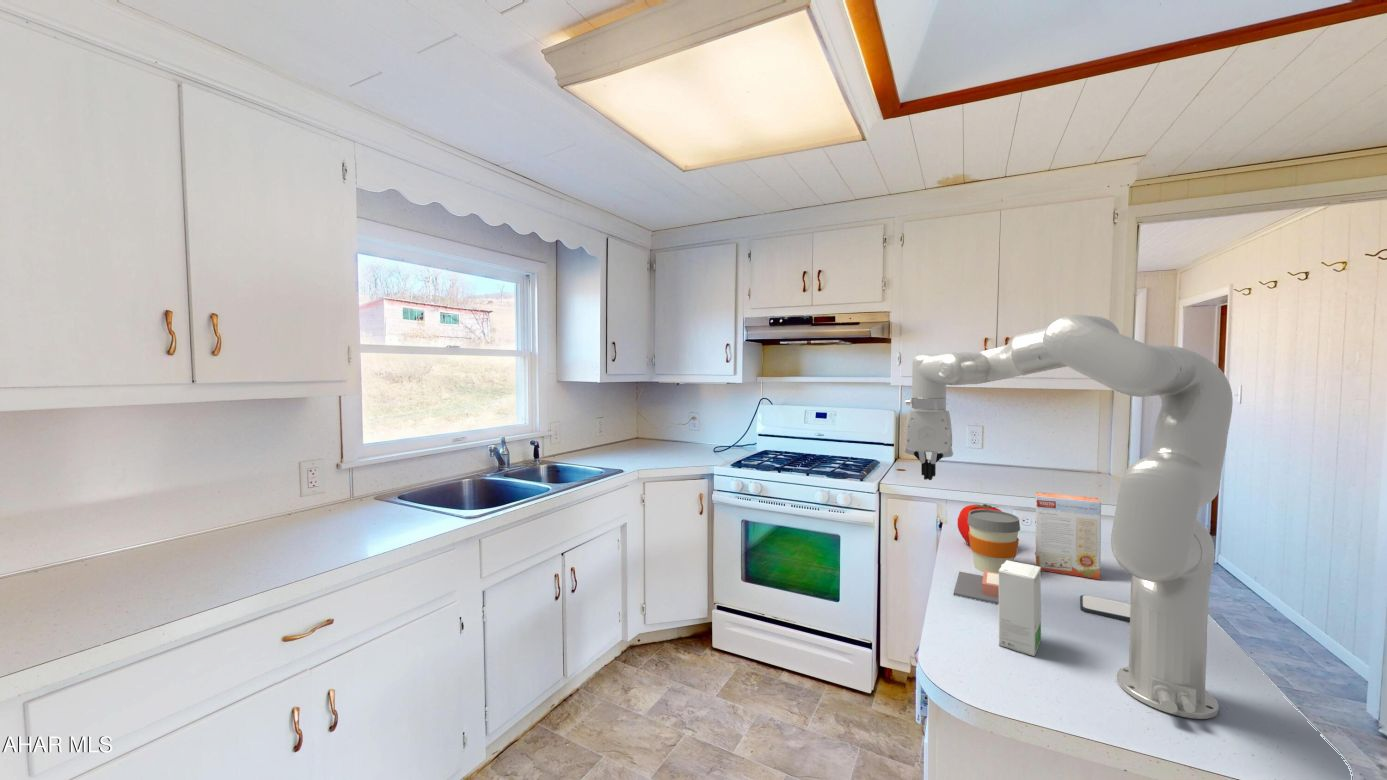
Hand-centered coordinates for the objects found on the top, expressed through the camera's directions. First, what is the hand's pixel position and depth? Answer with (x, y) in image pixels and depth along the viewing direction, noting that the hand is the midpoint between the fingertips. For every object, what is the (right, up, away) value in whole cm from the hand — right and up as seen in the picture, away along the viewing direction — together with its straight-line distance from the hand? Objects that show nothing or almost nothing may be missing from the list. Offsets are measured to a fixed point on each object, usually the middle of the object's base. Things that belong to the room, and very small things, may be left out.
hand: (928, 478), depth 122 cm
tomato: (+32, -27, +33) cm, 54 cm away
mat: (+17, -29, +3) cm, 33 cm away
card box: (+15, -27, +3) cm, 31 cm away
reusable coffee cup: (+26, -28, +16) cm, 41 cm away
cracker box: (+44, -28, +13) cm, 54 cm away
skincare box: (+9, -30, -21) cm, 38 cm away
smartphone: (+40, -30, -10) cm, 51 cm away
